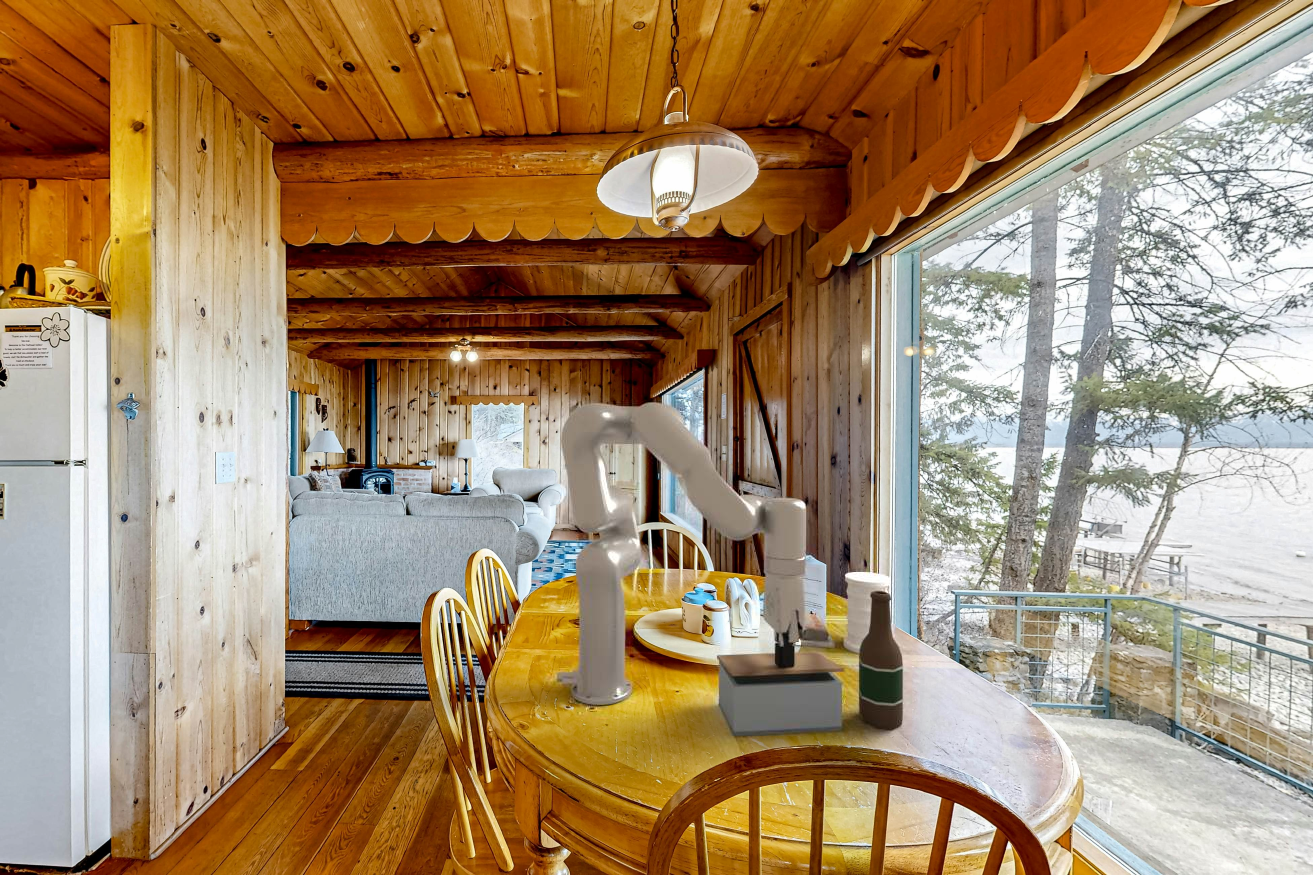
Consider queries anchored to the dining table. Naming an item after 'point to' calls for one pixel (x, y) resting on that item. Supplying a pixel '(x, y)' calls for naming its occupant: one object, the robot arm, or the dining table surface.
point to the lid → (767, 666)
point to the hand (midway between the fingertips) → (784, 665)
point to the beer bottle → (880, 669)
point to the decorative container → (861, 605)
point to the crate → (780, 703)
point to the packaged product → (815, 633)
